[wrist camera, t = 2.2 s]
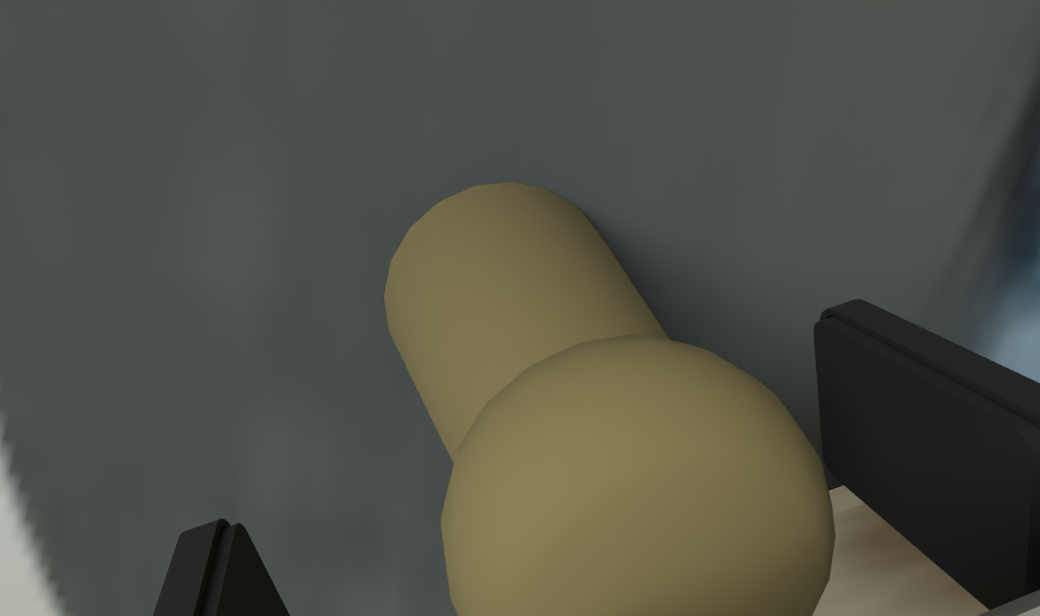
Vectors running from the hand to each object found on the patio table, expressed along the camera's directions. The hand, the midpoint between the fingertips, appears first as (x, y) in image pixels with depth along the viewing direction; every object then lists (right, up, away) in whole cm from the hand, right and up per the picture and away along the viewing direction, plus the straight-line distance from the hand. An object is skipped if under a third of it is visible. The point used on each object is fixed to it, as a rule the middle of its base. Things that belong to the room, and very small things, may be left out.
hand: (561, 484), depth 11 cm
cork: (-1, +3, +7) cm, 8 cm away
